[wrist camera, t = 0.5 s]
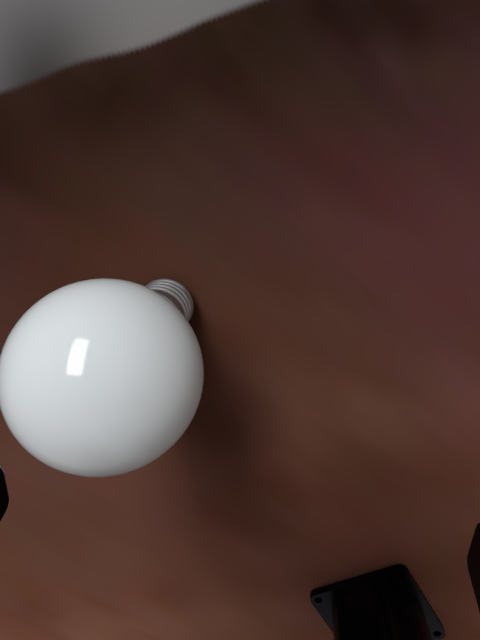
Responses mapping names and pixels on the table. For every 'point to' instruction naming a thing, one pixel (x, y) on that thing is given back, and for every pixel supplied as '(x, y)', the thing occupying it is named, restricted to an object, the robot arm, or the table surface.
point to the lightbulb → (102, 375)
